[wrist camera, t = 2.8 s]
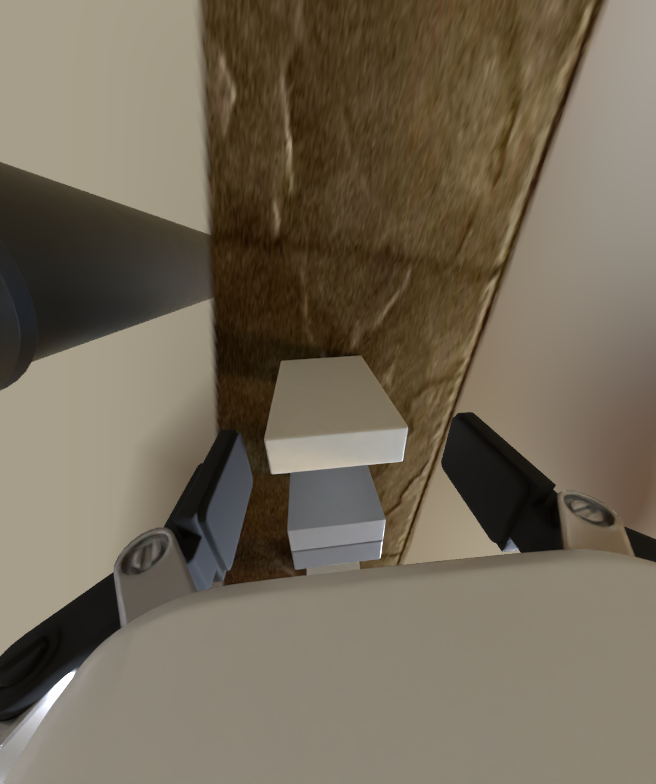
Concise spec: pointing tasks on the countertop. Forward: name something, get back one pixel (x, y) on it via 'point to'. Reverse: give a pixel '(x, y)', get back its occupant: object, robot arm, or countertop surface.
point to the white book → (331, 417)
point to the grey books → (334, 517)
